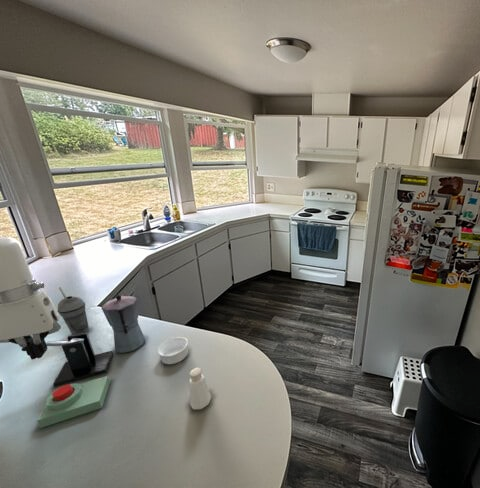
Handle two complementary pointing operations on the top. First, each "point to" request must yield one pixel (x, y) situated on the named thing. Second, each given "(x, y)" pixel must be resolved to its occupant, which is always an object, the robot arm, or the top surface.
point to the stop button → (62, 392)
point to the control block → (75, 402)
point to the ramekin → (173, 350)
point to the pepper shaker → (198, 390)
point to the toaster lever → (59, 342)
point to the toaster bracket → (81, 361)
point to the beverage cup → (73, 313)
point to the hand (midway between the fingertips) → (39, 354)
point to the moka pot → (124, 323)
